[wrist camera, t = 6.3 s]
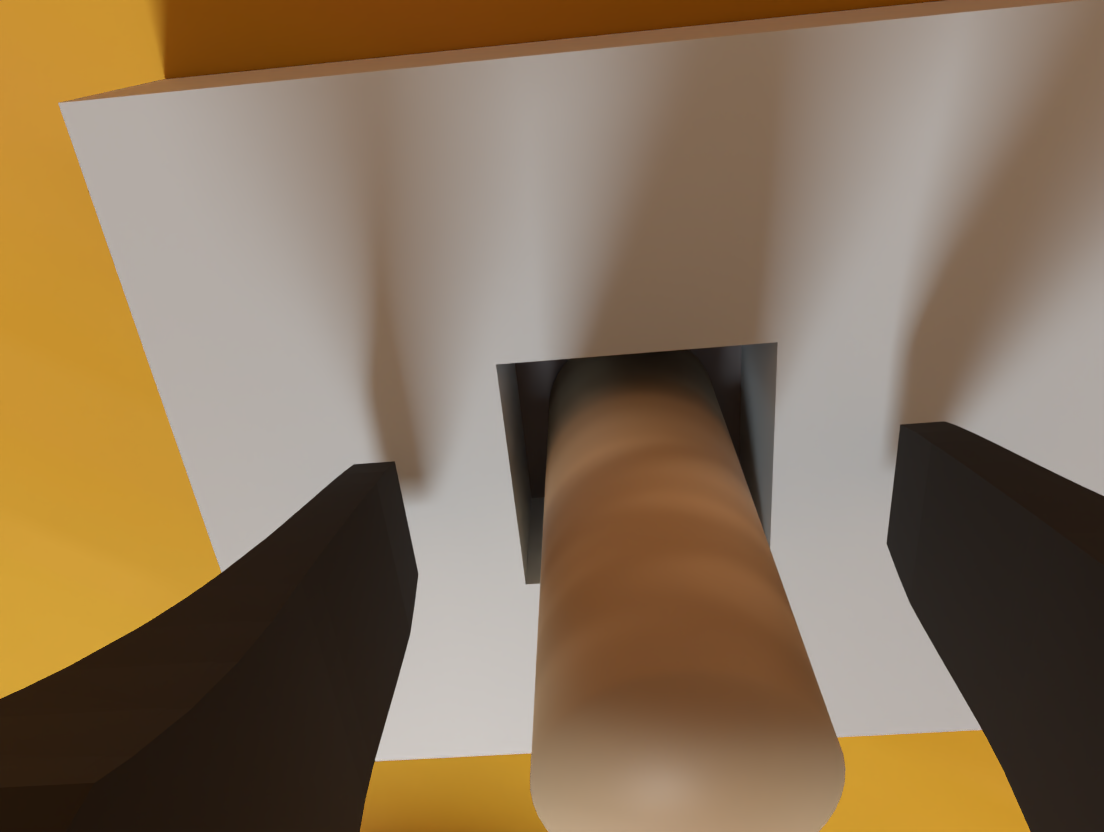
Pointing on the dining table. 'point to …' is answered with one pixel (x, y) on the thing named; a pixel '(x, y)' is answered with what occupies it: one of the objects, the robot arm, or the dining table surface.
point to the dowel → (666, 622)
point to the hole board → (623, 298)
